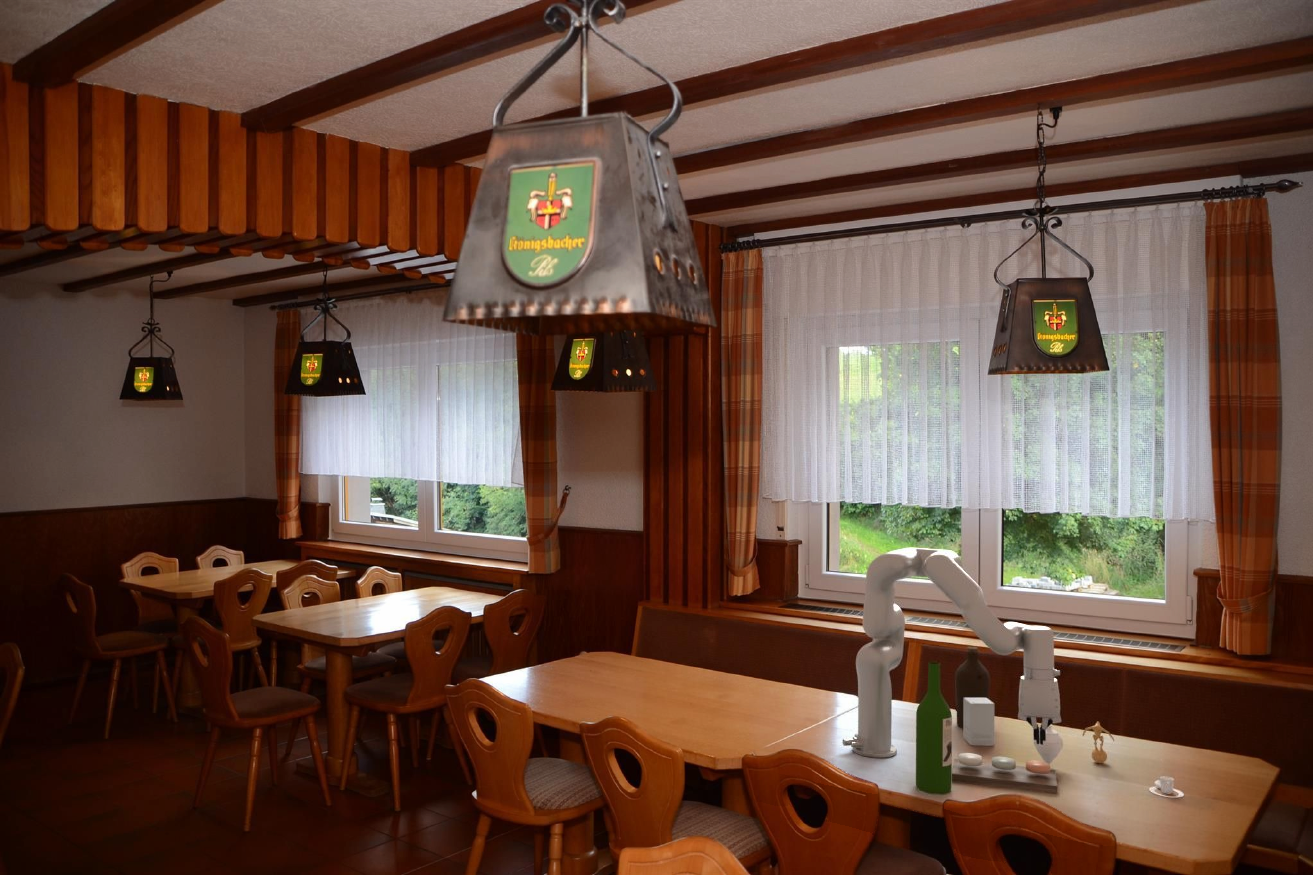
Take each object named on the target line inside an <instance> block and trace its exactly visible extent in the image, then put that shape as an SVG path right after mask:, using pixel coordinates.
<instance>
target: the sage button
mask: <svg viewBox="0 0 1313 875" xmlns="http://www.w3.org/2000/svg"><path fill="white" fill-rule="evenodd" d="M1016 762H1017V761H1016V760H1015V759H1013V758H1010V757H1007V756H994V757H991V763H992V766H993V767H995V768H997V769H1002V770H1013V769H1015V768H1016V766H1017V765H1016V764H1017V763H1016Z"/></svg>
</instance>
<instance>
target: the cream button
mask: <svg viewBox="0 0 1313 875" xmlns="http://www.w3.org/2000/svg"><path fill="white" fill-rule="evenodd" d="M958 759H959V763H961V764H963V765H967V766H980V765H982V762H983V757H982V755H979V754H977V753H972V752H963V753H959V754H958Z"/></svg>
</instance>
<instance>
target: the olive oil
mask: <svg viewBox="0 0 1313 875" xmlns="http://www.w3.org/2000/svg"><path fill="white" fill-rule="evenodd" d="M966 656H967V657H966V660H964V662H962V663H961V664H960V665H959V666H958V668H957V669H956V672H955V675H954V682H955V683H954V684H955V685H954V686H955V703H956V704H955V712H956V726H958V727H960V728H961V729H963V701H964V698H988V699H989V700H990V686H991V678H990V673H989V671H988V670H987V668H986V667H985V666H984V665H983V664H982V662H981V661H980V660H979V649H978V647H976V646H967V652H966Z"/></svg>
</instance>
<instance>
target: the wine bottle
mask: <svg viewBox="0 0 1313 875" xmlns="http://www.w3.org/2000/svg"><path fill="white" fill-rule="evenodd" d="M927 667H928V670H927V671H928V673H927V676H928V678H927V692H926V694H925V696H924V697H923V699H922V700H921V701H920V703H919V704H918V706H917V709H916V713H915V716H916V717H915V785H916V789H917V790H918V791H921V792H923V793H926V794H933V795H944V794H949V793H950V792H951V791H952V768H953V765H952V762H953V760H952V759H953V758H952V753H953V752H952V751H953V750H952V747H953V745H952V743H953V742H952V741H953V715H952V711H951V708H950V707H949V704H948V703H947V701H946V700H945V698H944V696H943V695H942V692H941V663H939V662H937V661H931V662H928V666H927Z"/></svg>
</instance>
